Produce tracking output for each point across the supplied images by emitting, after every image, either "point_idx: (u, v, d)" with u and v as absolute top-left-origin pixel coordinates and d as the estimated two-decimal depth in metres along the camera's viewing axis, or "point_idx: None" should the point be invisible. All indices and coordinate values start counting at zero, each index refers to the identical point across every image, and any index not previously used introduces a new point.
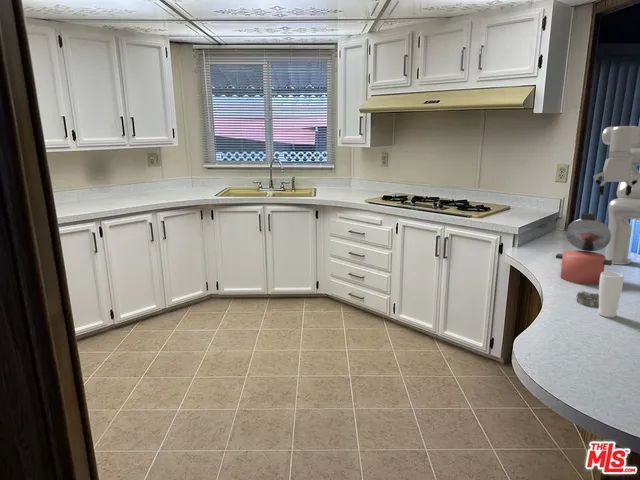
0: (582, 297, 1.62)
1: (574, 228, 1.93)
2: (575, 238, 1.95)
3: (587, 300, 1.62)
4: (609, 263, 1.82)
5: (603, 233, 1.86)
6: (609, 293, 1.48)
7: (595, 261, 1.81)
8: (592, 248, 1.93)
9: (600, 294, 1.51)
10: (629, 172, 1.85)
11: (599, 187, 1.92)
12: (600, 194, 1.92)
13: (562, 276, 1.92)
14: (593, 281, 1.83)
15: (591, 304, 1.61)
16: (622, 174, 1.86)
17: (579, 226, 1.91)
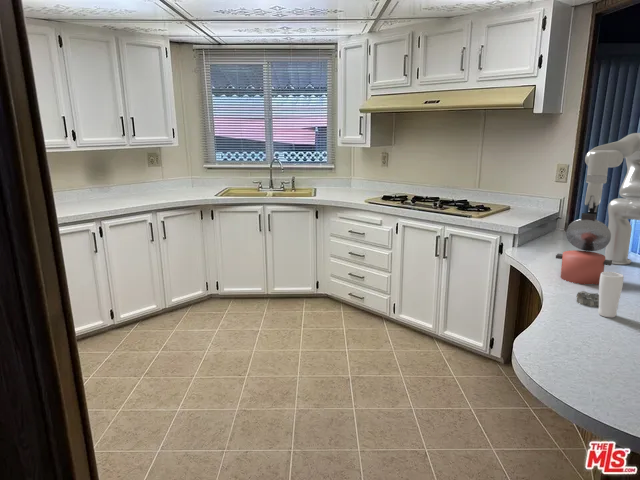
0: (582, 297, 1.63)
1: (574, 228, 1.93)
2: (575, 238, 1.95)
3: (587, 299, 1.62)
4: (609, 263, 1.82)
5: (603, 233, 1.86)
6: (609, 293, 1.48)
7: (595, 261, 1.81)
8: (592, 248, 1.93)
9: (600, 294, 1.51)
10: (601, 195, 1.93)
11: (591, 213, 1.92)
12: None
13: (562, 276, 1.92)
14: (593, 281, 1.83)
15: (591, 304, 1.61)
16: None
17: (579, 226, 1.91)
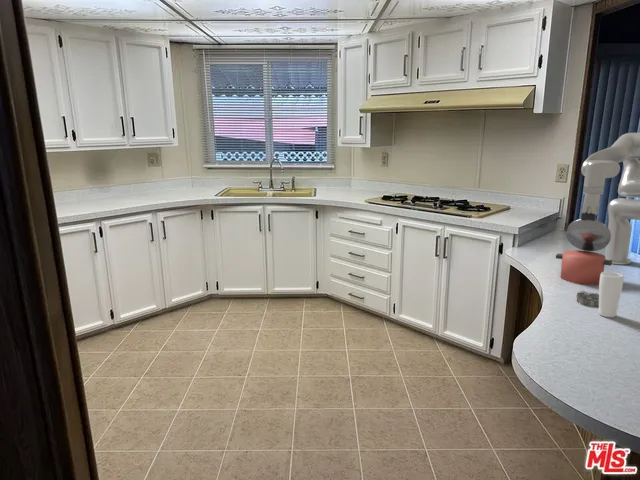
0: (582, 297, 1.63)
1: (574, 228, 1.93)
2: (575, 238, 1.95)
3: (587, 299, 1.62)
4: (609, 263, 1.82)
5: (603, 233, 1.86)
6: (609, 293, 1.48)
7: (595, 261, 1.81)
8: (592, 248, 1.93)
9: (600, 294, 1.51)
10: None
11: None
12: None
13: (562, 276, 1.92)
14: (593, 281, 1.83)
15: (591, 304, 1.61)
16: (598, 208, 1.89)
17: (579, 226, 1.91)
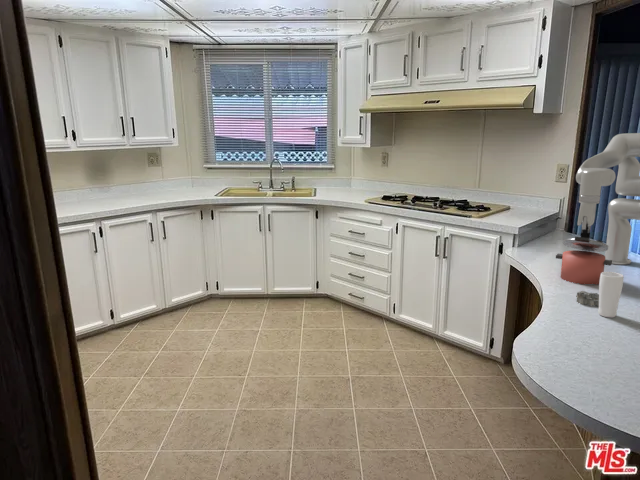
0: (582, 297, 1.63)
1: (570, 243, 1.90)
2: (573, 246, 1.93)
3: (587, 299, 1.62)
4: (609, 263, 1.82)
5: (600, 247, 1.83)
6: (609, 293, 1.48)
7: (595, 261, 1.81)
8: (591, 250, 1.93)
9: (600, 294, 1.51)
10: None
11: (584, 234, 1.85)
12: None
13: (562, 276, 1.92)
14: (593, 281, 1.83)
15: (591, 304, 1.61)
16: (594, 217, 1.84)
17: (575, 242, 1.87)
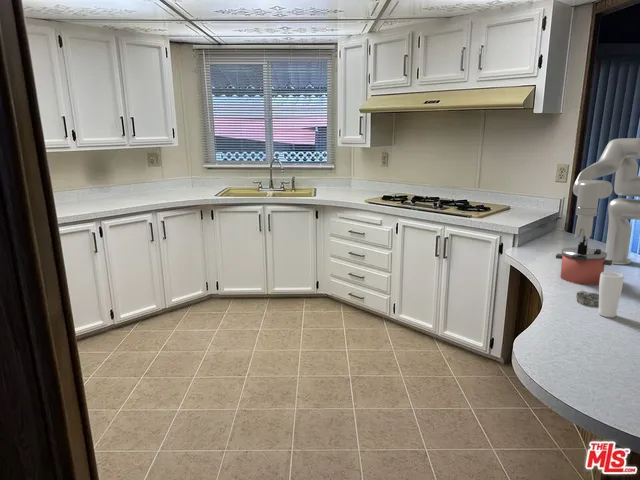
0: (582, 297, 1.63)
1: None
2: None
3: (587, 299, 1.63)
4: (609, 263, 1.82)
5: None
6: (609, 293, 1.48)
7: (595, 261, 1.81)
8: None
9: (600, 294, 1.51)
10: None
11: (581, 247, 1.84)
12: (581, 253, 1.85)
13: (562, 276, 1.92)
14: (593, 281, 1.83)
15: (592, 304, 1.61)
16: (591, 230, 1.83)
17: None
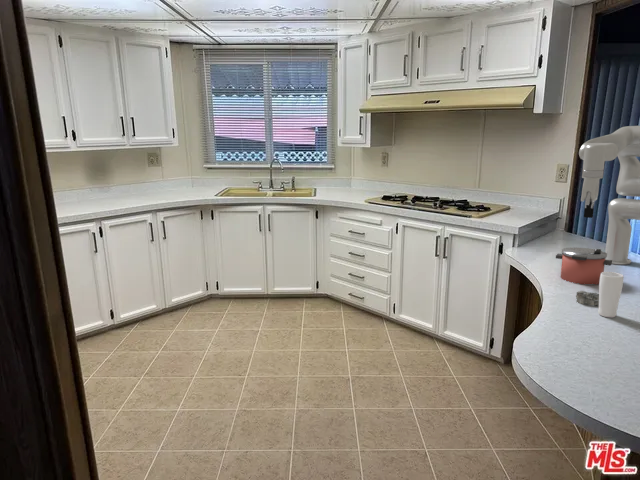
0: (582, 297, 1.63)
1: None
2: None
3: (587, 299, 1.63)
4: (609, 263, 1.82)
5: None
6: (609, 293, 1.48)
7: (595, 261, 1.81)
8: None
9: (600, 294, 1.51)
10: (598, 190, 1.85)
11: (588, 210, 1.84)
12: (587, 217, 1.85)
13: (562, 276, 1.92)
14: (593, 281, 1.83)
15: (592, 304, 1.61)
16: (597, 192, 1.83)
17: None
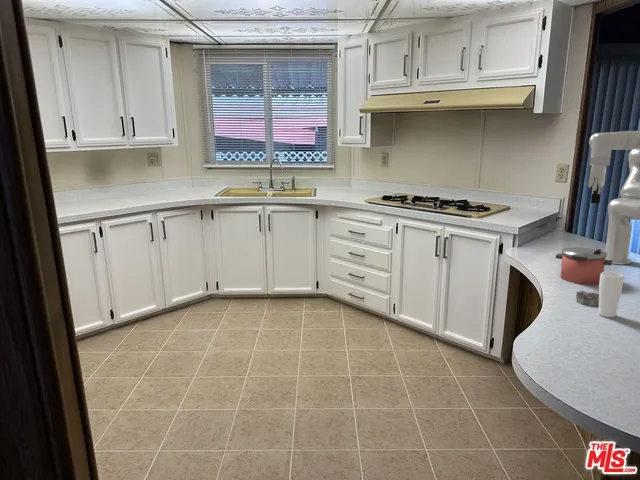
0: (582, 297, 1.63)
1: None
2: None
3: (587, 299, 1.63)
4: (609, 263, 1.82)
5: None
6: (609, 293, 1.48)
7: (595, 261, 1.81)
8: None
9: (600, 294, 1.51)
10: None
11: (595, 196, 1.94)
12: (594, 202, 1.95)
13: (562, 276, 1.92)
14: (593, 281, 1.83)
15: (592, 304, 1.61)
16: (604, 179, 1.93)
17: None
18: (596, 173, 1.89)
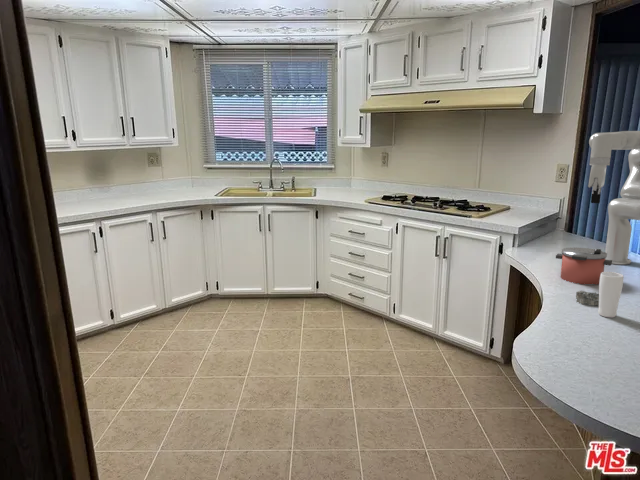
0: (582, 297, 1.63)
1: None
2: None
3: (587, 299, 1.63)
4: (609, 263, 1.82)
5: None
6: (609, 293, 1.48)
7: (595, 261, 1.81)
8: None
9: (600, 294, 1.51)
10: None
11: (595, 196, 1.94)
12: (594, 202, 1.95)
13: (562, 276, 1.92)
14: (593, 281, 1.83)
15: (592, 304, 1.61)
16: (604, 179, 1.93)
17: None
18: (596, 173, 1.89)
